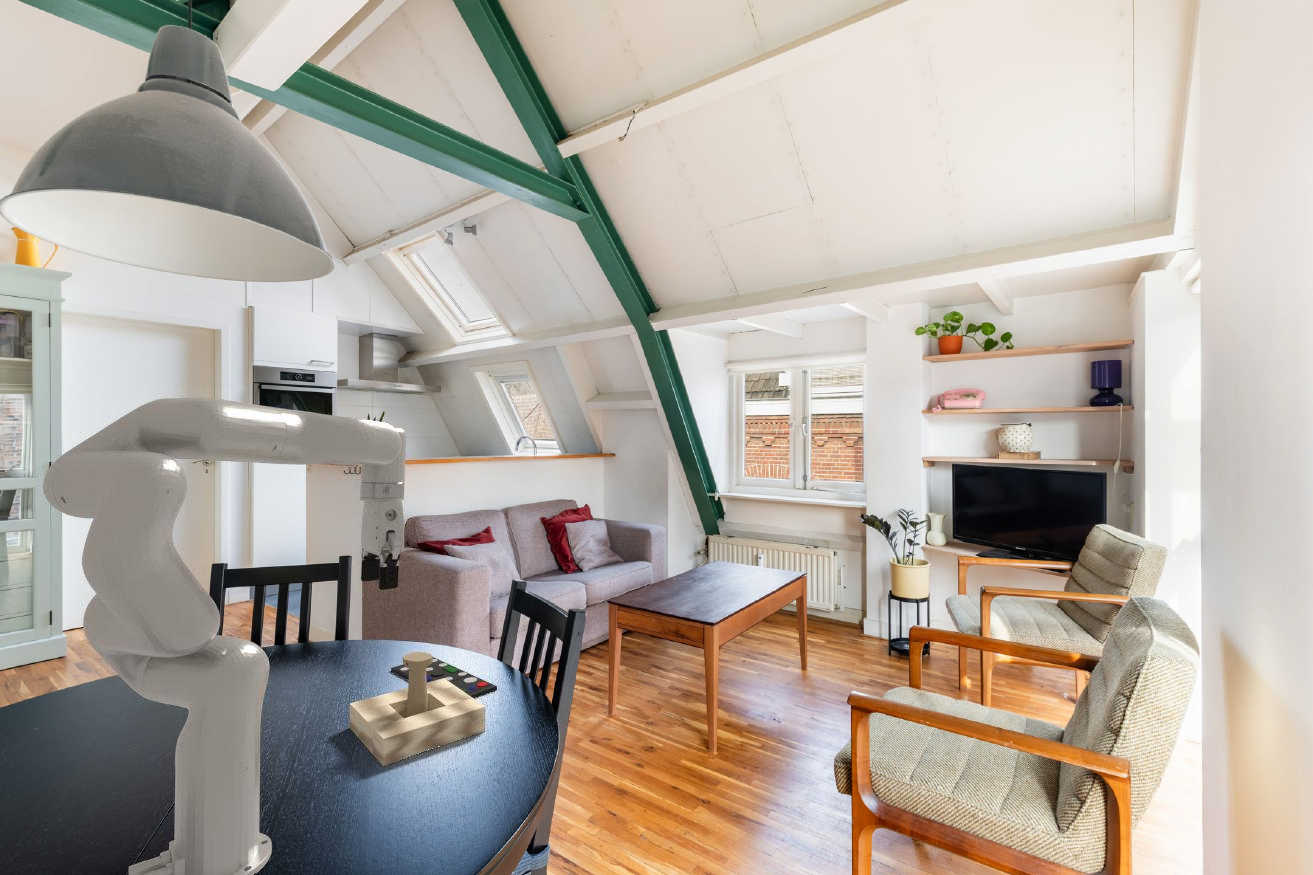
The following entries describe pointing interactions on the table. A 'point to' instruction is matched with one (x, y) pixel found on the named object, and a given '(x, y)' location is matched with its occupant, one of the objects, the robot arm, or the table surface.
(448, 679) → the remote control
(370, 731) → the socket block
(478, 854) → the table surface
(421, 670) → the handle
